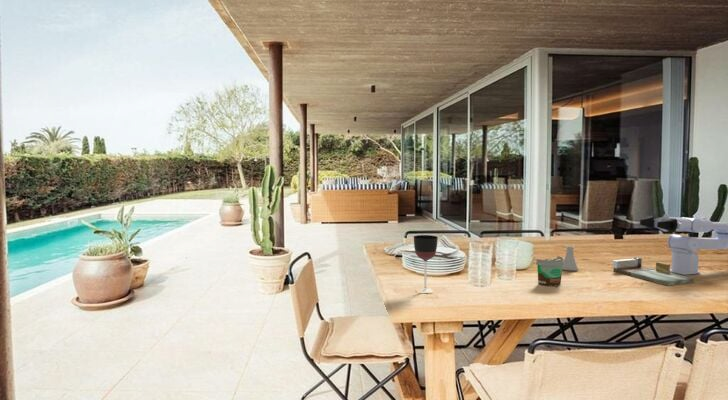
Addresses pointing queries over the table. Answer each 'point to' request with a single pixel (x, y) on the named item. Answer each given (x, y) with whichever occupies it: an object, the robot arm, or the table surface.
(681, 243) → the robot arm
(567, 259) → the flask
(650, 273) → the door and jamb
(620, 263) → the lock bar
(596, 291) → the table surface
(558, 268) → the food container
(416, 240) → the wineglass
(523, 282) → the table surface
